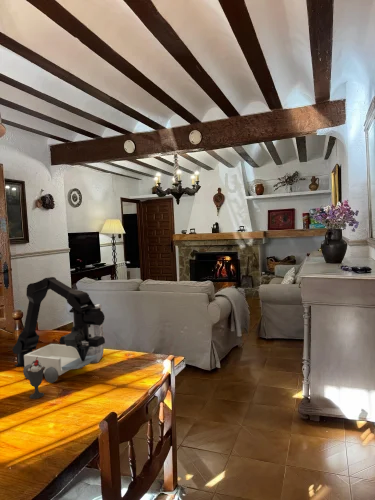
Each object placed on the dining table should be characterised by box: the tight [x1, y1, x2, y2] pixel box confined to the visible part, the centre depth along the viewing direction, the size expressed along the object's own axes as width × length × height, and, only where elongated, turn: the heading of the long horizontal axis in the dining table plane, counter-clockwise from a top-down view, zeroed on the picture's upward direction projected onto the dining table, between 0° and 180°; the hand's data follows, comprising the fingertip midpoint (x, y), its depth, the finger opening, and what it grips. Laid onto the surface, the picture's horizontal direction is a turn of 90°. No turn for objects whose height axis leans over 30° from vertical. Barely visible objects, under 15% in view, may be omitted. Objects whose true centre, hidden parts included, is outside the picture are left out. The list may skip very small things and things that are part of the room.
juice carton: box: [86, 303, 104, 364], centre depth 168 cm, size 9×10×27 cm
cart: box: [23, 343, 80, 384], centre depth 154 cm, size 18×18×10 cm
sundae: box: [26, 357, 45, 400], centre depth 132 cm, size 7×7×15 cm
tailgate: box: [62, 355, 97, 371], centre depth 149 cm, size 2×13×8 cm
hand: (83, 360), depth 148 cm, fingers closed, pressing on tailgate
